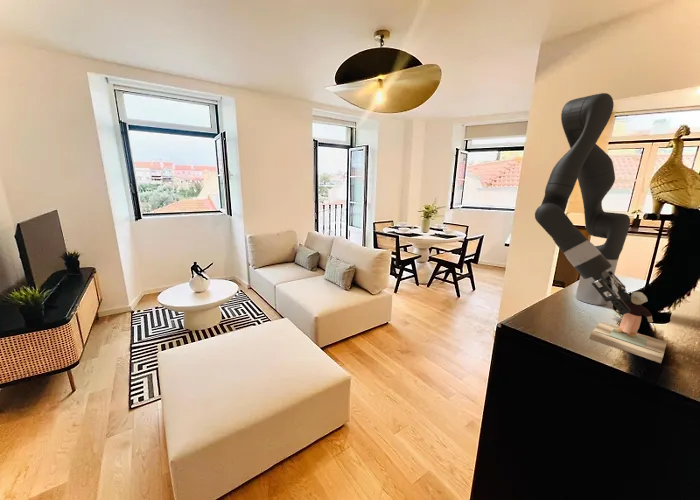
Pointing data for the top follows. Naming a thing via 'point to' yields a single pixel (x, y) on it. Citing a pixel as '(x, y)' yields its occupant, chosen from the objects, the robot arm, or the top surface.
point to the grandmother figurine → (634, 315)
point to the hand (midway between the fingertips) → (629, 309)
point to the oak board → (630, 342)
